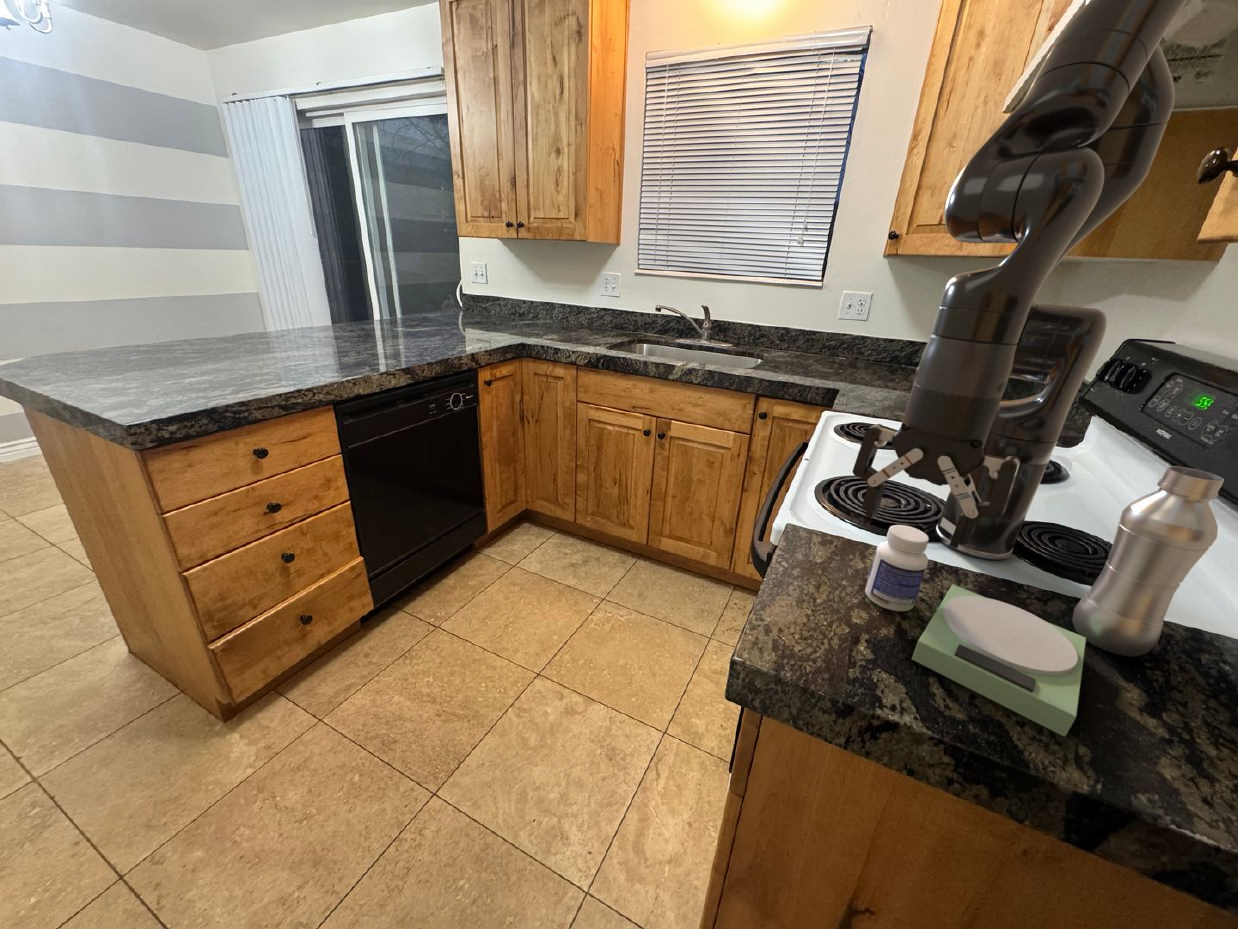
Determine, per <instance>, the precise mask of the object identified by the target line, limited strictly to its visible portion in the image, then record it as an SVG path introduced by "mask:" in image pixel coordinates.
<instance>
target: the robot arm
mask: <svg viewBox="0 0 1238 929" xmlns="http://www.w3.org/2000/svg"><path fill="white" fill-rule="evenodd" d="M1188 1H1189V0H1085V2H1084V6H1083V7H1082V9H1080V10H1079V11H1078V13H1077V14H1076V15H1075V16H1074V18H1073V19H1072V20H1071V21H1070V22H1069V23H1068V24H1067V26H1066V27H1065V28H1064V30H1062V32H1061V33H1060V34H1059V37H1058V38H1057V40H1056V41H1055V43H1054V44H1053V46H1052V48H1051V49H1050V51H1049V53H1048V55H1046V56H1047V57H1046V58H1045V60H1044V62H1043V64H1042V66H1041V67H1040V69H1039V71H1038V72H1037V75H1036V76H1035V78H1034V80H1033V81H1032V83H1031V86H1030V87H1029V89H1028V90H1027V93H1026V94H1025V96H1024V98H1023V100H1022V101H1021V103H1020V104H1019V105H1018V106H1017V107H1016V108H1015V109H1014V110H1013V111H1012V112H1011V113H1010V114H1009V116H1008V117H1006V119H1005V120H1004V121H1003V122H1002V123H1001V125H999V127H997V129H996V130H995V131H994V132H993V133H992V134H991V136H990V137H989V138H988V139H987V140H986V141H985V142H984V143H983V144H982V145H981V147H980V148H979V149H978V150H977V151H976V152H975V154H973V155H972V157H971V158H970V159H969V160H968V162H966V164H965V165H964V167H963V168H962V170H960V172H959V174H958V176H957V177H956V179H955V181H954V182H953V184H952V186H951V188H950V191H949V193H948V196H947V198H946V201H945V206H944V224H945V227H946V230H947V233H948V234H949V235H950V236H951V237H952V238H953V239H954V240H956V241H958V242H961V243H967V244H1017V245H1016V246H1015V247H1014V248H1013V250H1012V251H1011V252H1010V254H1009V255H1008V256H1006V257H1005V259H1004V260H1002V261H1001V262H1000V263H999V264H997V265H995V266H992V267H989V268H984V269H978V270H972V271H965V272H962V273H957V274H955V275H954V276H952V277H951V278H950V279H949V280H948V282H947V283H946V284H945V287H944V290H943V293H942V296H941V300H940V302H939V306H938V309H937V311H936V316H935V319H934V322H933V326H932V329H931V334H930V335H929V339H928V341H927V344H926V346H925V348H924V351H923V352H922V355H921V357H920V360H919V363H918V366H917V368H916V369H915V373H914V380H913V384H912V387H911V391H910V395H909V397H908V400H907V404H906V408H905V411H904V415H903V418H902V421H901V425H900V427H899V428H898V430H897V431H894V430H891V429H888V428H885V427H884V425H883V424H881V423H877V424H874V425H872V426H870V427H868V428H867V429H866V430H865V432H864V436H863V438H862V442H861V444H860V447H859V450H858V453H857V456H856V459H855V462H854V464H853V468H852V475H853V476H854V477H857V478H861V479H862V480H863V481H865V482H866V485H867V486H866V490H865V494H864V497H863V501H862V504H861V508H862V511H864V512H865V514H864V516H865V517H867V518H870V519H873V518H875V517H876V516H877V514H878V512H879V510H880V506H881V503H882V500H883V496H884V492H885V490H886V486H887V485H886V484H884V483H885V482H886V481H887V480H890V479H892V477H894V476H895V475H897V474H899V473H901V472H902V471H903V472H905V473H906V474H907V475H908V477H909V478H912V479H915V480H925V481H927V482H929V483H930V484H933V485H936V486H939V487H942V486H947V485H948V486H949V489H950V490H949V491H948V495H947V498H946V500H945V503H944V506H943V509H942V512H941V514H940V518H939V520H938V523H937V525H935V526H936V527H935V529H934V534H935V536H936V537H937V539H938V540H939V541H941V542H942V543H943V544H944V545H946V546H948V547H950V548H951V549H954V550H956V551H957V552H960V553H963V554H965V555H969V556H972V557H976V558H980V559H985V560H994V561H995V560H997V561H999V560H1006V559H1008V558H1010V557H1011V556H1012V554H1013V550H1014V545H1015V544H1016V541H1017V538H1018V536H1019V533H1020V532H1021V530H1022V527H1023V525H1024V522H1025V520H1026V517H1027V515H1028V513H1029V510H1030V507H1031V505H1032V503H1033V501H1034V499H1035V496H1036V493H1037V491H1038V488H1039V487H1040V484H1041V481H1042V479H1043V477H1044V474H1045V472H1046V470H1047V468H1048V464H1049V462H1050V460H1051V456H1052V454H1053V452H1054V450H1055V448H1056V445H1057V443H1058V440H1059V438H1060V435H1061V433H1062V430H1063V427H1064V425H1065V423H1066V420H1067V417H1068V415H1069V413H1070V410H1071V407H1072V405H1073V403H1074V401H1075V399H1076V397H1077V394H1078V392H1079V389H1080V388H1081V386H1082V383H1083V381H1084V380H1085V378H1086V375H1087V373H1088V372H1089V370H1090V368H1091V366H1092V364H1093V361H1094V360H1095V358H1096V356H1097V353H1098V352H1099V350H1100V347H1101V344H1102V342H1103V339H1104V336H1105V334H1106V330H1107V323H1108V322H1107V321H1108V320H1107V316H1106V314H1105V312H1104V311H1103V310H1101V309H1096V308H1089V307H1081V306H1080V307H1079V306H1068V305H1067V306H1066V305H1055V304H1044V303H1041V304H1040V303H1035V300H1036V297H1037V295H1038V293H1039V292H1040V289H1041V288H1042V286H1043V284H1044V283H1045V281H1046V279H1047V278H1048V276H1049V275H1050V274H1051V272H1053V270H1054V269H1055V268H1056V266H1057V265H1058V264H1059V263H1060V262H1061V261H1062V260H1064V258H1065V257H1066V256H1067V255H1068V254H1069V253H1070V252H1071V251H1072V250H1073V249H1074V248H1075V247H1076V246H1077V245H1078V244H1079V243H1080V242H1081V241H1082V240H1084V239H1085V238H1087V236H1088V235H1090V233H1092V232H1093V231H1094V230H1095V229H1097V228H1098V227H1099V226H1100V225H1101V224H1102V223H1103V222H1104V221H1105V220H1106V219H1107V218H1109V217H1110V216H1111V215H1112V214H1114V212H1115V211H1117V209H1119V207H1121V206H1122V205H1123V204H1124V203H1125V202H1126V201H1127V200H1128V199H1129V198H1130V197H1131V196H1132V195H1133V194H1134V193H1135V192H1136V190H1138V188H1139V187H1140V186H1141V184H1142V183H1143V182H1144V181H1145V179H1146V178H1147V176H1148V174H1149V173H1150V171H1151V167H1152V165H1153V162H1154V161H1155V158H1156V155H1157V152H1158V149H1159V147H1160V144H1161V141H1162V139H1163V136H1164V133H1165V131H1166V128H1167V125H1168V122H1169V120H1170V117H1171V114H1172V112H1173V109H1174V105H1175V101H1176V98H1175V97H1176V93H1175V92H1176V91H1175V85H1174V81H1173V76H1172V73H1171V69H1170V67H1169V64H1168V61H1167V59H1166V56H1165V54H1164V52H1163V49H1162V47H1161V45H1160V42H1161V41H1162V39H1163V37H1164V36H1165V34H1166V32H1167V31H1168V30H1169V29H1170V27H1171V25H1172V23H1173V22H1174V21H1175V19H1176V18H1177V16H1178V15H1179V13H1180V12H1181V10H1182V9H1183V8H1184V6H1185V5H1186V4H1187V2H1188ZM1010 378H1013V379H1017V380H1022V381H1028V382H1029V381H1030V382H1035V383H1040V384H1041V383H1042V384H1045V386H1044V388H1043V390H1042V391H1041V392H1039V393H1036V394H1033V395H1031V396H1028V397H1023V398H1019V399H1012V400H1002V397H1003V395H1004V392H1005V390H1006V388H1007V385H1008V382H1009V379H1010ZM888 442H891V445H892V447H893V449H894V453H895V454H896V460H894V461H892V462H890V463H889V464H888V465H886V466H884V467H883V468H881V469H880V470H877V469H875V468H874V467H872V466H873V464H874V461H875V458H876V456H877V453H878V450H879V448H882V447H883V446H885V445H886V444H887V443H888Z"/></svg>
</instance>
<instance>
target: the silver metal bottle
mask: <svg viewBox="0 0 1238 929" xmlns="http://www.w3.org/2000/svg"><path fill="white" fill-rule="evenodd" d="M1224 481H1225V479H1224V478H1223V477H1221V476H1219V475H1217V474H1214V473H1211V472H1208V471H1203V470H1201V469H1196V468H1190V467H1185V466H1177V465H1175V466H1174V465H1171V466H1168V467H1167V468H1166V470H1165V472H1164V473H1163V475H1162V477H1161V478H1159V479H1158V481H1157V483H1156V485H1157V486H1158V487H1159V488H1158V489H1157V490H1156V491H1153V492H1150V493H1148V494H1146V495H1144V496H1141V497H1139V498H1138V499H1135V500H1134V501H1131V502H1130V503H1129V504H1128V505H1127V506H1126V507H1125V508H1124V509H1122V511H1121V514H1120V516H1119V521H1118V523H1117V527H1116V531H1115V535H1114V539H1113V543H1112V545H1111V548H1110V551H1109V554H1108V555H1107V559H1106V561H1105V564H1104V566H1103V568H1102V570H1101V572H1100V574H1099V575H1098V576H1097V578H1096V580H1095V581H1094V583H1093V584H1092V586H1091V587H1090V589H1089V590H1088V591H1087V592H1086V593H1085V594H1084V595H1083V596H1082V597H1081V599H1080V600H1079V601H1078V602H1077V604H1076V606H1075V607H1074V609H1073V614H1072V619H1071V620H1072V621H1071V622H1072V625H1073V628H1074V629H1075V630H1074V631H1075V632H1076V634H1078V635H1081V636H1083V637H1086V642H1088V643H1090V644H1091V645H1093V646H1095V647H1097V648H1099V649H1101V650H1104V651H1106V652H1108V653H1112V654H1115V655H1118V656H1123V657H1138V656H1142V655H1146V654H1148V653H1149V652H1150V651H1151V650H1153V648H1154V647H1155V646H1156V645H1157V644H1158V643H1159V640H1160V638H1161V635H1162V633H1163V632H1162V631H1163V627H1164V620H1165V617H1166V615H1167V612H1168V610H1169V607H1170V605H1171V602H1172V600H1173V598H1174V595H1175V594H1176V592H1177V590H1178V589H1179V588H1180V586H1181V584H1182V583H1183V581H1184V580H1185V578H1186V577H1187V575H1188V574H1189V573H1190V571H1191V570H1192V568H1193V567H1195V565H1197V563H1198V562H1199V560H1200V559H1201V558H1202V557H1203V556H1204V555H1205V554H1206V553H1207V551H1208V550H1209V548H1211V547H1212V546H1213V544H1214V543H1215V542H1216V540H1217V538H1218V531H1219V526H1218V524H1217V520H1216V516H1215V515H1214V513H1213V510H1212V507H1211V506H1210V504H1209V503H1210V501H1211V500H1212V501H1213V500H1216V499H1217V498H1218V496H1219V491H1220V489H1221V488H1222V486H1223V484H1224Z"/></svg>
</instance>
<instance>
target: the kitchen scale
mask: <svg viewBox="0 0 1238 929" xmlns="http://www.w3.org/2000/svg"><path fill="white" fill-rule="evenodd" d="M1086 643H1087V641H1086V637H1083V636H1081V635H1079V634H1078V633H1077V632H1076V633H1075V632H1073V631H1070V630H1068V629H1066V628H1063V627H1061V626H1058V625H1056V624H1054V623H1050V622H1048V621H1046V620H1044V619H1042V618H1040V617H1038V616H1037V615H1035V614H1033V613H1031V612H1029V611H1027V610H1025V609H1022V608H1020V607H1018V606H1015V605H1014V604H1013V605H1012V604H1010V603H1007V602H1004V601H1001V600H997V599H993V598H989V597H987V596H983V595H981V594H978V593H976V592H973V591H970V590H968V589H965V588H963V587H961V586H958V585H956V584H951V586H950V588H949V590H948V592H947V593H946V595H945V596H944V597H943V600H942V601H941V603H940V604H939V606H938V607H937V609H936V611H935V612H934V614H933V616H932V618H931V619H930V621H929V622H928V624H927V626H926V627H925V629H924V631H923V632H922V634H921V636H920V638H919V639H918V640H917V642H916V646H915V648H914V651H913V654H912V657H911V660H912V661H913V662H915V663H918V664H920V665H922V666H924V667H926V668H928V669H930V670H932V671H934V672H935V673H937V674H940V675H942V676H944V677H946V678H948V679H950V680H951V681H953V682H954V683H957V684H959V685H961V686H963V687H966V688H967V689H969V690H971V691H973V692H975V693H976V694H979V695H981V696H983V697H985V698H987V699H989V700H991V701H992V702H994V703H997V704H999V705H1000V706H1003V707H1004V708H1007V709H1009V710H1010V711H1012V712H1014V713H1017V714H1019V715H1021V716H1022V717H1024V718H1025V719H1028V720H1030V721H1032V722H1034V723H1036V724H1038V725H1039V726H1043V727H1044V728H1046V729H1048V730H1049V731H1052V732H1054V733H1056V734H1058V735H1060V736H1062V737H1064V738H1066V736H1067V735H1068V733H1069V731H1070V729H1071V728H1072V726H1073V724H1074V722H1075V720H1076V719H1077V715H1078V706H1079V698H1080V692H1081V684H1082V675H1083V669H1084V668H1083V666H1084V661H1085V660H1084V658H1085V652H1086V651H1085V650H1086Z"/></svg>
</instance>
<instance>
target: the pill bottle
mask: <svg viewBox="0 0 1238 929" xmlns="http://www.w3.org/2000/svg"><path fill="white" fill-rule="evenodd" d="M929 540H930V538H929V535H928V534H927V533H925V532H924V531H922V530H920V529H918V528H916V527H913V526H909V525H903V524H895V525H891V526H889V528H888V531H887V534H886V540H885V541H882V542H880V543H879V544H878V545H877V548H876V550H875V553H874V557H873V561H872V565H871V568H870V571H869V574H868V578H867V581H866V584H865V589H864V590H865V591H864V592H865V595H866V596H867V598H868V599H869V601H871V602H872V603H874V604H875V605H877V606H879V607H881V608H883V609H885V610H889V611H893V612H908V611H911V610H913V608H914V606H915V603H916V600H917V598H918V594H919V592H920V589H921V586H922V583H923V580H924V578H925V574H926V571H927V568H928V565H929V558H928V556H927V554H926V553H925V552H926V549H927V547H928V544H929Z"/></svg>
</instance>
